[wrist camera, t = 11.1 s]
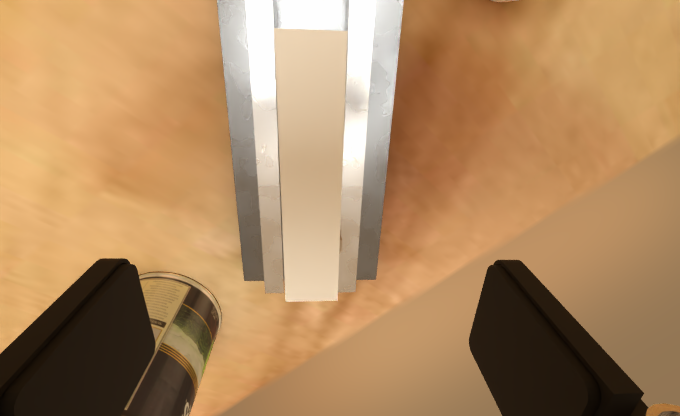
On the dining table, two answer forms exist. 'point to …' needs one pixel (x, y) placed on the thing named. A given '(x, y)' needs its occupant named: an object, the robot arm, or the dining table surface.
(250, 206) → the door track
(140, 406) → the coffee can
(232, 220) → the dining table surface
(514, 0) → the mug
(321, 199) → the door panel
